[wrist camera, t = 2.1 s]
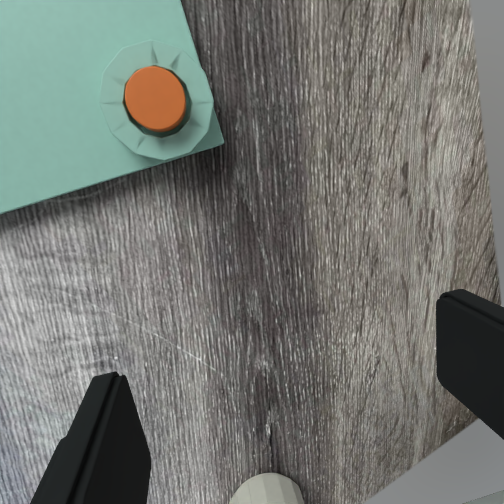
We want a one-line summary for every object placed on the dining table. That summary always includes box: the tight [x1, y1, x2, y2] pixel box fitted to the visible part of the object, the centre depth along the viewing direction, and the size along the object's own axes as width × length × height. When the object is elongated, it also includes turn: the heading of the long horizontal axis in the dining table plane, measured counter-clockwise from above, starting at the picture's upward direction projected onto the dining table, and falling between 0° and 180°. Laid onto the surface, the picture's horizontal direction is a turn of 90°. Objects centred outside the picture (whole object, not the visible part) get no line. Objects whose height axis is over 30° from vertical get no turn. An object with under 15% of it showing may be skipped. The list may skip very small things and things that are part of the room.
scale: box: [0, 0, 224, 215], centre depth 18 cm, size 16×14×3 cm
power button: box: [125, 66, 186, 132], centre depth 18 cm, size 3×3×2 cm
